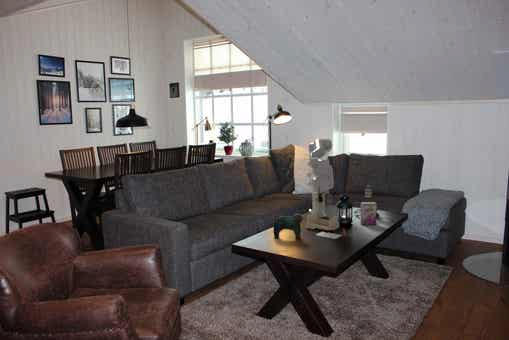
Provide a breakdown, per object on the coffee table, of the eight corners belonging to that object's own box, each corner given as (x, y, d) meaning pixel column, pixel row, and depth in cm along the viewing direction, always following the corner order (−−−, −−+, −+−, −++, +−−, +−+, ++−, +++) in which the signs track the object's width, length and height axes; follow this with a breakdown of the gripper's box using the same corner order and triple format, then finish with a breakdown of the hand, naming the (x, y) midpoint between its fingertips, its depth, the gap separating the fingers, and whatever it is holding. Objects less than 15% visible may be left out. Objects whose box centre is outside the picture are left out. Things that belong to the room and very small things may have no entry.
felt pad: (315, 235, 293) (315, 234, 293) (322, 232, 300) (322, 231, 300) (335, 239, 284) (335, 238, 284) (341, 235, 291) (341, 235, 291)
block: (313, 203, 311) (313, 192, 309) (317, 201, 314) (317, 191, 313) (328, 205, 303) (328, 194, 302) (331, 204, 307) (331, 193, 305)
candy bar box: (361, 225, 315) (361, 203, 312) (360, 223, 320) (360, 202, 317) (376, 225, 314) (377, 203, 311) (375, 223, 319) (375, 202, 316)
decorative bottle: (387, 218, 331) (388, 187, 327) (362, 221, 326) (363, 189, 322) (373, 212, 352) (373, 182, 348) (349, 214, 347) (350, 184, 344)
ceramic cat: (303, 237, 290) (302, 208, 287) (302, 240, 284) (302, 210, 281) (274, 236, 293) (273, 208, 290) (273, 239, 287) (272, 210, 284)
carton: (306, 227, 311) (306, 216, 310) (317, 223, 323) (317, 211, 321) (328, 232, 299) (328, 219, 298) (339, 227, 311) (339, 215, 309)
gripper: (324, 174, 314) (324, 198, 317) (311, 177, 301) (311, 202, 304) (333, 175, 309) (333, 199, 312) (321, 178, 297) (321, 204, 299)
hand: (322, 200), depth 308 cm, fingers closed on block, 5 cm apart
